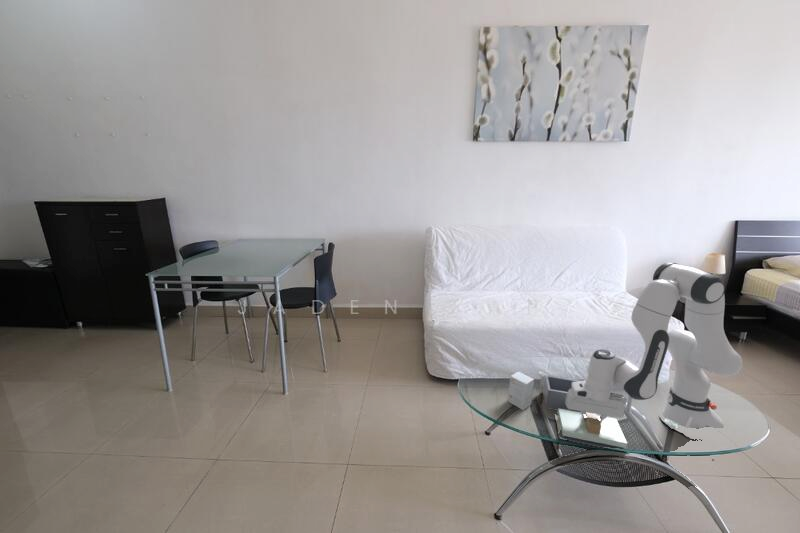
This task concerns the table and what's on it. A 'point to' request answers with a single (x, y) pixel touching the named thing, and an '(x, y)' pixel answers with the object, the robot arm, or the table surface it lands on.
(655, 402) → the table surface
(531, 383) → the small box
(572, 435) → the lid
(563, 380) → the storage box
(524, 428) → the table surface
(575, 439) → the mat
